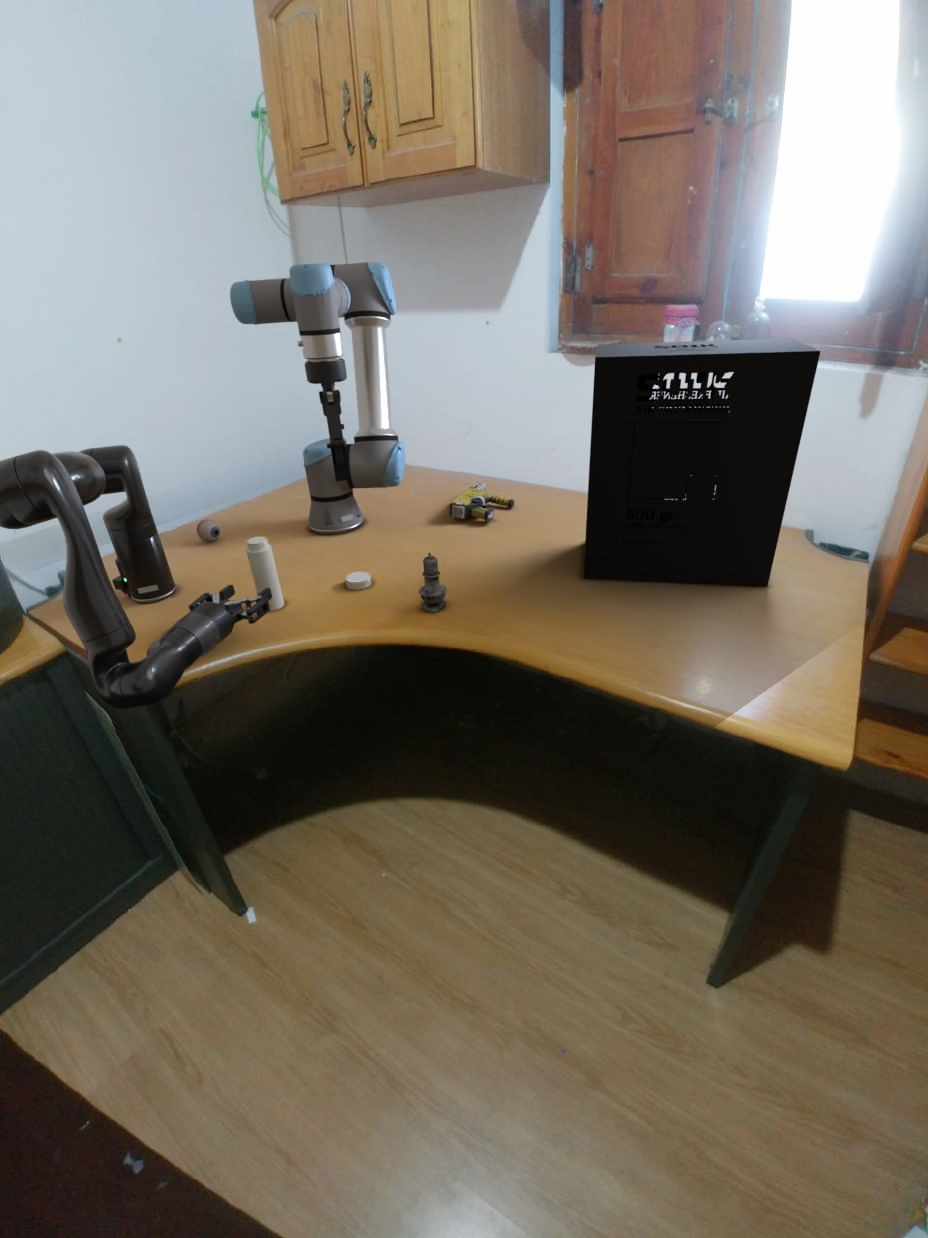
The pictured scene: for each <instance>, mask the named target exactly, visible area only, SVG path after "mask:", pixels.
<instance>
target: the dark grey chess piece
mask: <svg viewBox="0 0 928 1238" xmlns="http://www.w3.org/2000/svg"><path fill="white" fill-rule="evenodd" d="M422 559H423V560H422V566H423V572H422V574H421V575H422V576H423V579H424V580H423V581H424V585H423V586H421V587H419V589H418V591H417V592H418V594H419V595H420V598H421V599H422V601H423V602H422V603H421V609H422V610H423V611H425V612H431V613H434V612H440V611H442V610H444V609H446V608H447V605H448V604H447V602H446V601H445V597H446V595H447V592H448V587H446V586H445V585H443V584H441V582H440V575H441V571H440V570H439V563H438V562H439V561H438V559H437V557H435V556H433V555H432V553H431V552H430V551H429V552H428V553H427V556H424V558H422Z"/></svg>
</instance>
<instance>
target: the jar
mask: <svg viewBox="0 0 928 1238" xmlns="http://www.w3.org/2000/svg"><path fill="white" fill-rule="evenodd" d="M246 545H247V547H246V548H245V552H246V555H247V560H248V563H249V567H250V571H251V574H252V579H253V583H254V586H255V590H256V596H257V595H258V594H259V593H260V592H261V591H263V590H264V589H265V588H270V590H271V593H272V598H271V599H270V600H269V601H268V602H269V606H270V611H269V612H273V611H277V610H279V609H281V608H283V607H284V605H285V602H284V601H285V600H284V596H283V592H282V588H281V584H280V580H279V575H278V570H277V566H276V561H275V557H274V553H273V549H272V544H270V543H268V539H267V537H265V536H255V537H254V536H253V537H251V538H249V539H247V541H246Z"/></svg>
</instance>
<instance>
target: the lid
mask: <svg viewBox="0 0 928 1238" xmlns="http://www.w3.org/2000/svg"><path fill="white" fill-rule="evenodd" d="M371 584H372V576H371V574H370V573H369V572H367V571H354V572H351V573H349V574H347V575H346V576H345V585H346V587H347V589H349V590H354V591H355V590H356V591H359V590H363V589H366V588H368V587H370V586H371Z"/></svg>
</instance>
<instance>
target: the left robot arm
mask: <svg viewBox="0 0 928 1238" xmlns="http://www.w3.org/2000/svg"><path fill="white" fill-rule="evenodd" d="M138 463H139V462H138V460H137V458H136V455H135V454H134V452H133V450H132V449H131V448H130V447H129V446H128V445H126V444H116V445H107V446H100V447H90V448H84V449H82V450H79V451H72V450H70V451H68V450H67V451H58V452H54V453H51V452H50V451H47V450H44V449H37V450H33V451H29V452H26V453H25V452H24V453H22V454H18V455H15V456H12V457H8V458H4V459H1V460H0V528H2V529H8V530H21V529H26V528H29V527H32V526H35V525H39V524H43V523H45V522H49V521H52V520H54V519H57V521H58V522H59V525H60V528H61V530H62V532H63V536H64V540H65V545H66V546H65V547H66V562H65V572H64V578H63V589H62V600H63V607H64V611H65V613H66V616H67V618H68V620H69V622H70V624H71V626H72V627H73V630H74V631H75V633H76V634H77V637H78V638H79V640H80V641H81V643H82V646H83V647H84V648H85V651H86V655H87V661H88V665H89V670H90V674H91V678H92V682H93V686H94V688H95V690H96V693H97V694H98V696H99V697H100V699H101V700H102V701H103V702H104V703H105V704H106V705H108V706H109V707H111V708H113V709H116V710H126V709H127V710H128V709H133V708H138V707H147V706H152V705H155V704H156V703H159V702H160V701H162V700H164V699H165V698H166V697H168V695H170V694H171V693H172V692H173V690H174V689H175V687H176V686H177V685H178V683H179V682H180V681H181V678H182V677H183V675H184V673H185V672H186V671H187V670H189V669H190V668H191V667H192V666H193V665H194V664H195V663H197V662H198V661H199V659H201V658H203V657H205V656H206V655H207V654H209V653H210V652H211V651H212V650H213V649H215V648H216V647H217V646H218V645H219V644H221V643H222V642H223V641H224V640H226V638H227V637H228V636H230V635H231V633H232V632H233V629H234V627H235V625H236V624H237V623H239V622H241V621H242V620H247V621H248V624H249V625H253V624H256V622H258V621H259V620H261V618H263V617H264V616H265V615H267V614H268V613H269V612H271V611H270V606H269V602H268V601H269V600H270V599H271V598H272V593H271V590H270V588H265V589H264V590H263V591H261V592H260V593H259V594H258V595H257V594H256V596H252V597H250V598H249V597H247V596H245V597H242V598H239V599H234V600H230V599H231V598H232V597H234V596H235V594H236V591H235V587H234V585H233V584H227V585H226V586H225V587H223V588H221V589H220V590H219V591H214V592H212V594H210V592H204V593H203V594H201V595H200V596H199V597H198V598H196V599H195V600H194V601H192V602H191V603H190V604H188V609H189V612H188V613H186V614H185V615H184V616H182V617H181V618H179V619H178V620H177V621H176V622H175V623H174V624H173V625H172V626H171V627H170V628H169V629H168V630H167V631H165V632H164V633H163V634H161V635H160V636H159V637H157V638H156V639H155V640H154V641H152V642H151V644H149V646H148V648H147V650H146V656H145V657H143V658H142V659H140V660H138V661H133V662H131V660H130V658H129V654H128V650H127V649H128V648H130V646H132V645H133V644H134V643H135V641H136V638H137V634H136V630H135V629H134V627H133V624H132V623H131V622H130V621H131V620H130V619H129V616H128V615H127V613H126V611H125V608H124V607H123V605H122V603H121V601H120V599H119V598H118V597H119V596H117V594H116V591H115V590H117V591H120V592H122V593H123V594H124V595H125V596H126V595H127V597H128V599H131V600H132V602H134V603H137V604H152V603H157V602H160V601H163V600H165V599H168V598H169V597H171V596H173V595H174V594H176V592H177V584H176V583H175V581H174V580H175V579H174V578H173V574H172V572H171V568H170V565H169V562H168V558H167V556H166V553H165V550H164V547H163V543H162V541H161V538H160V534H159V532H158V531H159V530H158V529H157V526H156V522H155V519H154V516H153V514H152V509H151V506H150V503H149V499H148V497H147V494H146V489H145V485H144V482H143V479H142V474H141V470H140V467H139V464H138ZM118 493H125V494H126V498H125V499H124V501H122V502H121V503H118V504H117V505H114V506H112V507H110V508H109V509H107V510H106V511H105V512H104V513H103V515H102V520H103V524H104V526H105V528H106V531H107V534H108V536H109V539H110V542H111V544H112V548H113V550H114V552H115V554H116V558H115V560H114V562H115V565H116V567H117V570H118V573H119V575H118V576H116V577H115V578H113V579H110V577H109V575H108V573H107V572H108V571H107V570H106V567H105V565H104V562H103V561H104V560H103V559H102V556H101V555H102V554H101V552H100V549H99V546H98V543H97V540H96V537H95V535H94V531H93V529H92V526H91V523H90V520H89V518H88V515H87V512H86V510H85V506H87V505H89V504H91V503H94V502H95V501H96V500H97V499H99V498H100V497H101V496H102V495H110V494H111V495H112V494H118ZM112 584H113V585H112ZM252 603H254V604H253V605H252ZM243 604H245V609H246V610H245V611H244V608H243Z"/></svg>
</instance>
